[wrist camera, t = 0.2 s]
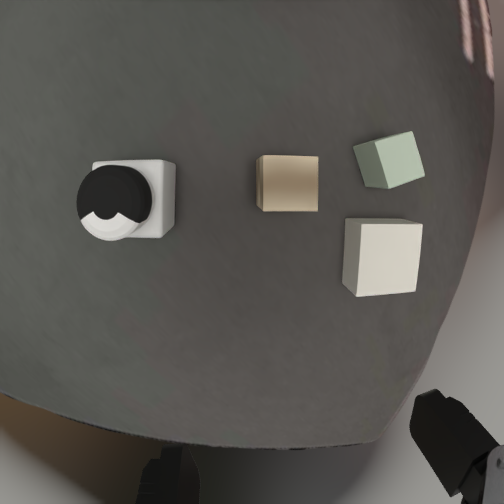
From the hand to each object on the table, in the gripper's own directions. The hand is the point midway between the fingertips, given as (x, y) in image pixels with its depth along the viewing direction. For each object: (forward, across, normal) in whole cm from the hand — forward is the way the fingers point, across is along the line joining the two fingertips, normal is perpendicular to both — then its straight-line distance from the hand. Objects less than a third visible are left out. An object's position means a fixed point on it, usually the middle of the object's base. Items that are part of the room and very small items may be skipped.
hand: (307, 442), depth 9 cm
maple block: (+28, -4, -7) cm, 29 cm away
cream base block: (+28, -15, +2) cm, 32 cm away
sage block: (+28, -17, -8) cm, 34 cm away
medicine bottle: (+28, +11, -8) cm, 31 cm away
